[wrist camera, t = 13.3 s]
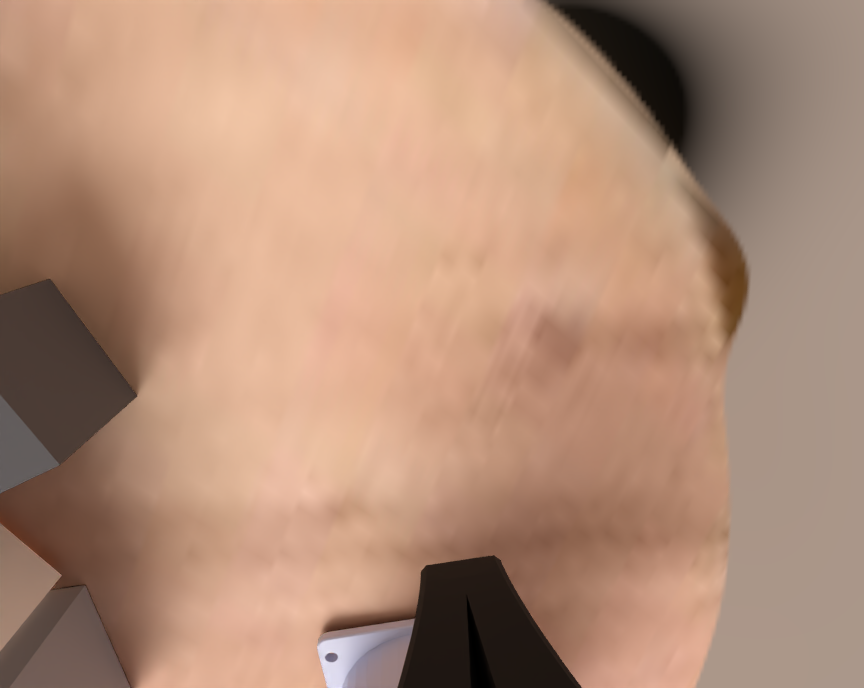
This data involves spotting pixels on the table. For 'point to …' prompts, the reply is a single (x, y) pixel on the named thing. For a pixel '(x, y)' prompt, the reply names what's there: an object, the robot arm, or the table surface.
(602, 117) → the table surface
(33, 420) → the dark grey block
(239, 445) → the table surface
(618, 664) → the table surface
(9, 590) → the door
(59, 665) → the wall frame
